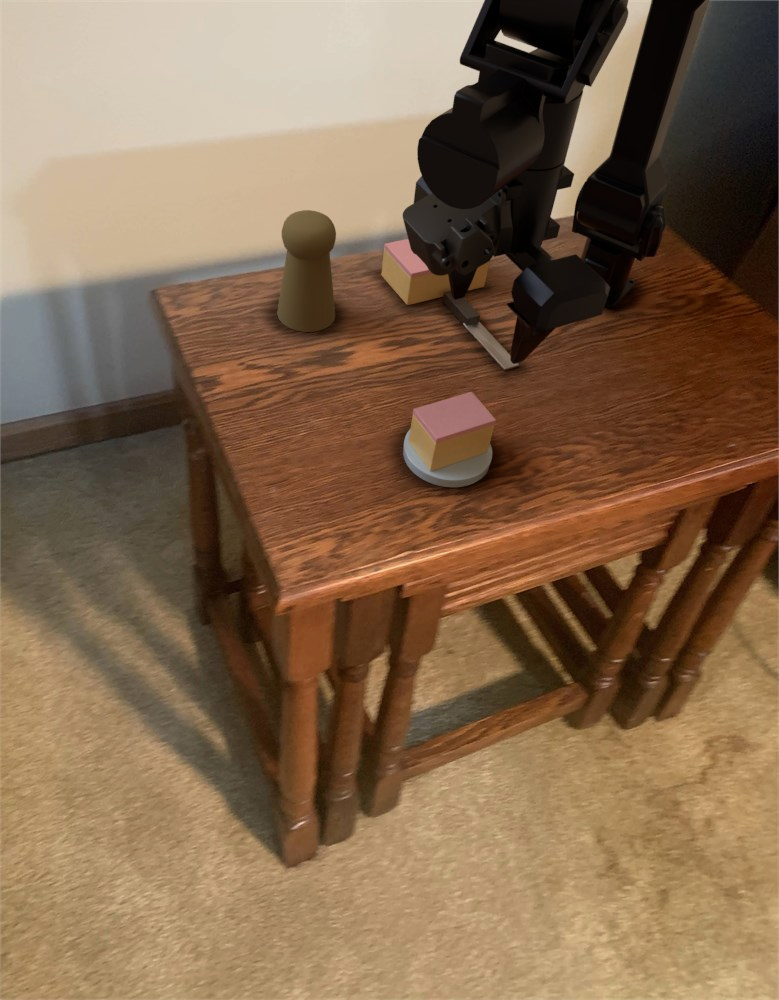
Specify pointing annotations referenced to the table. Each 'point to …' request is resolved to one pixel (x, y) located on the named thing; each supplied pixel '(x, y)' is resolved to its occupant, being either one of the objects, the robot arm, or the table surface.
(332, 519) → the table surface
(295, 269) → the pepper mill
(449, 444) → the cake slice
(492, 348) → the knife
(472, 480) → the plate
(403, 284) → the cake
